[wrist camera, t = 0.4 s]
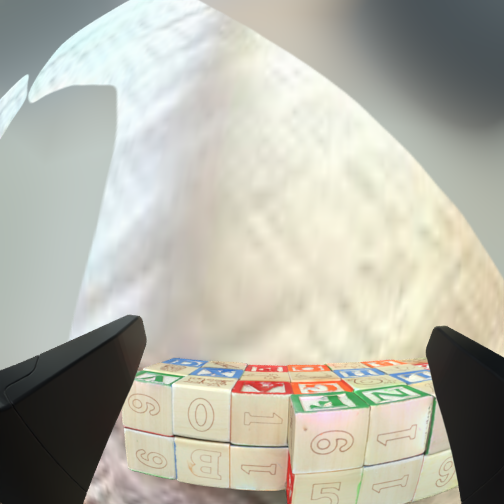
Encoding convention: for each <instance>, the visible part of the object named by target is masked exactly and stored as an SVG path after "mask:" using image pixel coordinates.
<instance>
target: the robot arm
mask: <svg viewBox="0 0 504 504" xmlns="http://www.w3.org/2000/svg"><path fill="white" fill-rule="evenodd" d="M145 347H146V334H145V330H144V325H143V321H142V318H141V317H140V316H135V315H127V316H124V317H122V318H120V319H118V320H115V321H113V322H111V323H109V324H107V325H104V326H102V327H100V328H98V329H95V330H93V331H91V332H89V333H87V334H84V335H82V336H80V337H78V338H75V339H73V340H71V341H69V342H66V343H64V344H62V345H60V346H57V347H55V348H53V349H51V350H49V351H46V352H44V353H42V354H40V355H37V356H35V357H33V358H31V359H28V360H26V361H23V362H21V363H18V364H16V365H13V366H11V367H8V368H5V369H3V370H0V504H83V502H84V500H85V497H86V494H87V493H86V492H87V491H88V489H89V486H90V483H91V481H92V478H93V476H94V473H95V471H96V468H97V466H98V463H99V461H100V458H101V456H102V453H103V451H104V449H105V446H106V444H107V441H108V439H109V437H110V434H111V432H112V430H113V427H114V425H115V423H116V421H117V418H118V416H119V414H120V412H121V409H122V407H123V405H124V403H125V400H126V398H127V396H128V394H129V392H130V389H131V387H132V385H133V382H134V379H135V376H136V373H137V370H138V367H139V364H140V361H141V358H142V355H143V352H144V349H145ZM426 357H427V361H428V365H429V369H430V374H431V378H432V383H433V387H434V391H435V395H436V399H437V402H438V405H439V408H440V412H441V415H442V418H443V422H444V425H445V429H446V433H447V437H448V440H449V444H450V448H451V453H452V457H453V461H454V466H455V471H456V476H457V481H458V486H459V492H460V498H461V502H462V503H461V504H504V357H502V356H500V355H499V354H497V353H495V352H493V351H491V350H490V349H488V348H486V347H484V346H482V345H481V344H479V343H477V342H475V341H473V340H472V339H470V338H468V337H466V336H464V335H462V334H460V333H459V332H457V331H455V330H453V329H451V328H449V327H448V326H436V327H435V328H434V329H433V331H432V334H431V336H430V339H429V342H428V345H427V347H426Z"/></svg>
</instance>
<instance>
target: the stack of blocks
mask: <svg viewBox="0 0 504 504" xmlns="http://www.w3.org/2000/svg"><path fill="white" fill-rule="evenodd" d="M122 421H123V425H124V435H125V446H126V454H127V463H128V469H130V470H132V471H136V472H140V473H144V474H149V475H153V476H157V477H161V478H167V479H176V480H177V481H179V482H183V483H190V484H195V485H202V486H210V487H218V488H232V489H236V490H253V491H278V490H284V489H286V495H287V504H405V503H408V502H410V501H411V502H414V501H418V500H421V499H424V498H427V497H430V496H434V495H437V494H439V493H442V492H445V491H448V490H450V489H452V488H455V487H457V486H458V481H457V476H456V471H455V466H454V461H453V457H452V453H451V448H450V444H449V440H448V437H447V433H446V429H445V425H444V422H443V418H442V415H441V412H440V408H439V405H438V402H437V399H436V395H435V391H434V387H433V383H432V378H431V374H430V369H429V365H428V361H427V358H415V359H406V360H385V361H372V362H351V363H327V364H324V365H288V366H267V365H248V364H247V363H234V362H219V361H201V360H190V359H180V358H173V359H170V360H167V361H164V362H161V363H157V364H154V365H151V366H148V367H145V368H143V371H139V372H137V373H136V376H135V379H134V382H133V385H132V387H131V389H130V392H129V394H128V396H127V398H126V400H125V403H124V405H123V407H122Z"/></svg>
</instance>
